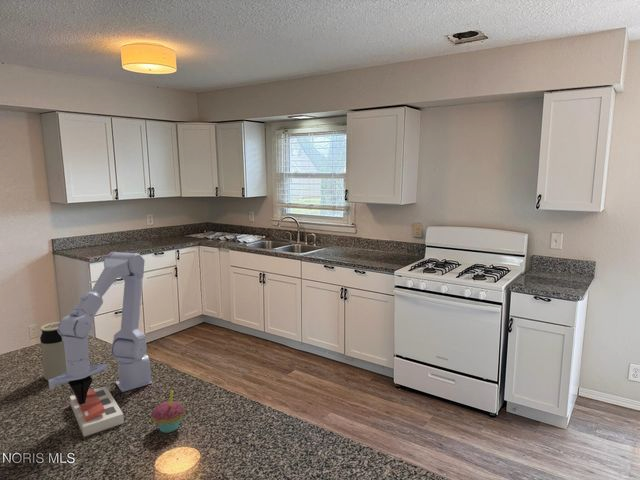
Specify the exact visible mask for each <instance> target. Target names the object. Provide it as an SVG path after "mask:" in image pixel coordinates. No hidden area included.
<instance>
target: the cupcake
mask: <svg viewBox="0 0 640 480" xmlns="http://www.w3.org/2000/svg"><path fill="white" fill-rule="evenodd" d="M173 389H174V388H171V390H170V392H169V393H170V396H169V401H162V402H160V403H159V404H157V405H155V406H154V408H153V409H152V411H151V414H150V418H151V421H153V422H154V423H156V424H157V426H158V428H159V431H160V432H161V433H165V434H166V433H173V432H174V431H176V430H177V429H178V428H179V424H180V422H181V419H182V418H183V417H184V414H185V408H184V406H183V404H182V403H181V402H179V401H175V400H173V399H174V398H173V397H174V390H173Z"/></svg>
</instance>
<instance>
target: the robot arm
mask: <svg viewBox="0 0 640 480" xmlns="http://www.w3.org/2000/svg"><path fill="white" fill-rule="evenodd" d="M103 267H104V268H103V270H102V271H101V273H100V275H99V276H98V278H97V280H96V282H95V284H94V285H93V287H92V289H91V290H90V291H87V292H85V293H83V294H82V295H81V297H80V299H79V300H78V302H76V303H77V304H76V305H75V306H74V308H73V309H72V310H71V312H70V313H69V314H68V315H66V316H64V317H63V318H61V320H59V322H60V323H59V326H58V328H57V331H58V333H59V335H61V337H62V341H63V342H64V347H65V358H66V368H67V373H64V374H62V375H60V376H57V377H55V378H52V379H49V380H47V382H48V387H49V389H51V390H52V389H54V388H55V389H56V387H58V386H61V385H64V384H68V385H69V387H70V388H71V389H72V392H73V393H74V394H75V395H76V398H77V402H78V403H79V405H81V404H84V403H85V402H86V396H87V392H88V390H90V387H91V386H92V385H91V384H92V383H93V378H92V376H94V375H96V374H97V375H98V374H100V373H107V372H109V370H108V365H107V364H106V363H104V362H103V363H102V364H96V365H91V363H90V351H89V339H88V335H89V334H90V333H91V332H92V327H93V322H94V318H95V316H96V314H97V313H98V311H99V310H100V309H101V307H102V305H103V303H104V300H103V296H105V294H106V293H107V291H108V290H109V289H110V287H111V286H112V285H113V284H114V283H115V281H116V280H117V279H119V278H121V279H122V280H123V281H124V286H123V295H122V296H123V299H122V310H121V321H120V329H119V330H118V331H117V332H116V333H115V334H114V335H113V340H112V343H111V345H110V354H111V355H112V356H113V357H115V359H114V360H115V361H117V371H118V372H117V373H118V380H116V381H115V384H116V386H117V388H118V389H119V391H120V392H122V393H124V392H127V391H130V390H134V389H137V388H141V387H144V386H147V385H150V384H152V383H153V381H152V373H151V362H150V358H149V356H148V354H146V353H147V350H148V349H147V347H148V346H147V342H146V339H147V337H146V334H145V333H144V332H142V331H141V329H139V328H140V316H141V305H142V304H141V303H142V293H143V292H142V291H143V280H144V279H143V278H144V272H145V259H144V258H143V256H142V255H141V254H140V253H138V252H134V253H133V252H117V251H111V252H109V253H108V254H107V256H106V258H105V260H103Z"/></svg>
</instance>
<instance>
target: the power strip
mask: <svg viewBox="0 0 640 480" xmlns="http://www.w3.org/2000/svg"><path fill="white" fill-rule="evenodd" d="M94 391H95V393H96V396H98V398H99V400H100V403H102V405H103V407H104V409H105V413H103V414H101V415H99V416H97V417H95V418H92V419H90V420H88V421H86V420H85V418H84V416H83V413H82V412H83V411H85V410H88V409H90V408H88V409H84V410H80V407H79V405H78V402H77V400H76V398H75V396H74V394H72V395H70V396H69V403H70V407H71V409H72V412H73V414H74V417H75V419H76V422H77V424H78V426H79V429H80V431H81V434H82V436H83V437H88V436H91V435H93V434H97V433H99V432H102V431H105V430H107V429H110V428H115V427H116V426H117V427H118V426H120V425H122V424H125V420H124V418H125V417H124V413H123V411H122V410H121V408H120V406H119V404H118V403H117V401H116V400H115V398H114V396H113V395H112V393H111V392H110V390H109V388H108V387H107V385H106V386H101V387H98V388H95V389H94ZM91 408H92V407H91Z"/></svg>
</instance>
